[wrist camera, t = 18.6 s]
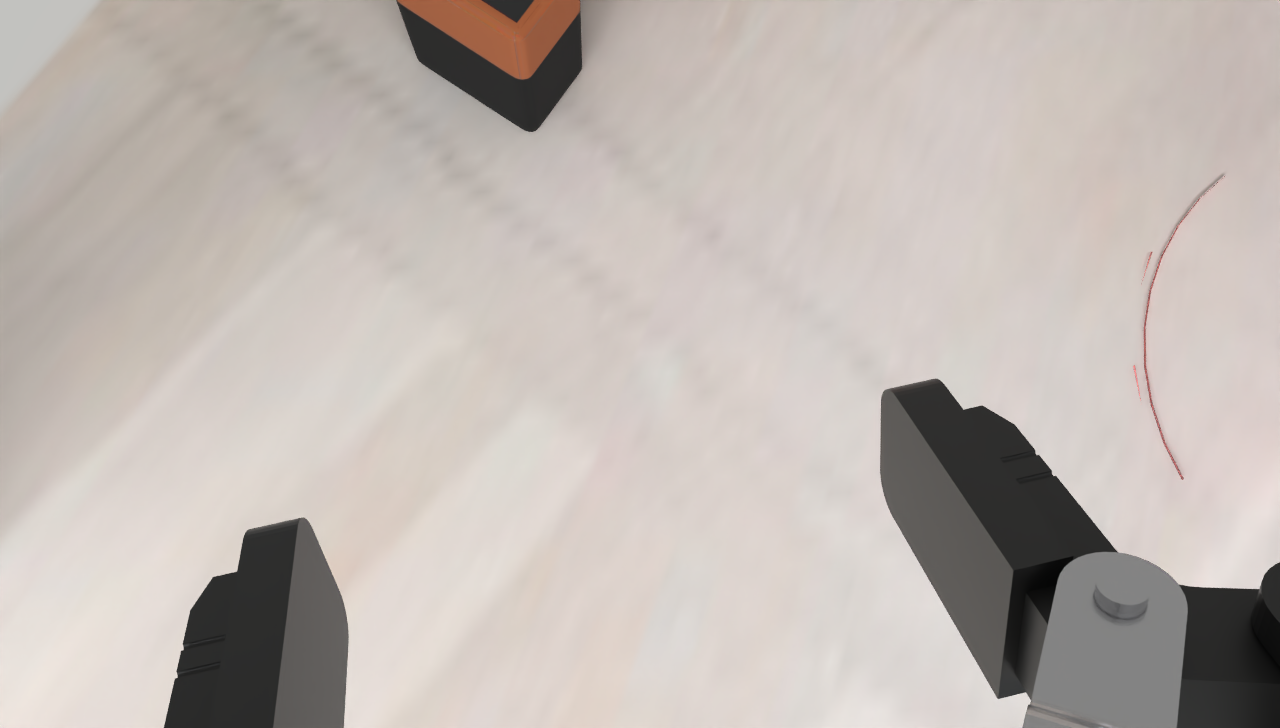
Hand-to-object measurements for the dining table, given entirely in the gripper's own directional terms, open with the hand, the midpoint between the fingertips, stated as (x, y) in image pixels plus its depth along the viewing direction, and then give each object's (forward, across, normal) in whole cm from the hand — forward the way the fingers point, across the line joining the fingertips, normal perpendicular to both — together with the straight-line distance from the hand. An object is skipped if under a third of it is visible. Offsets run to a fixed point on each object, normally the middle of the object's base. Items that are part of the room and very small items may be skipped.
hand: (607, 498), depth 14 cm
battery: (+38, 0, +6) cm, 38 cm away
